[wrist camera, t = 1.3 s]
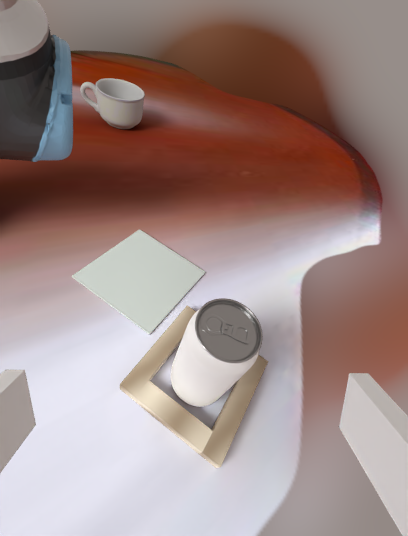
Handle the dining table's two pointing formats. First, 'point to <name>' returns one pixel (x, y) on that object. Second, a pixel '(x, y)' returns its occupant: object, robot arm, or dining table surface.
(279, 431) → the dining table surface
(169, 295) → the mat
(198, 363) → the can
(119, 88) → the teacup
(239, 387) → the holder
